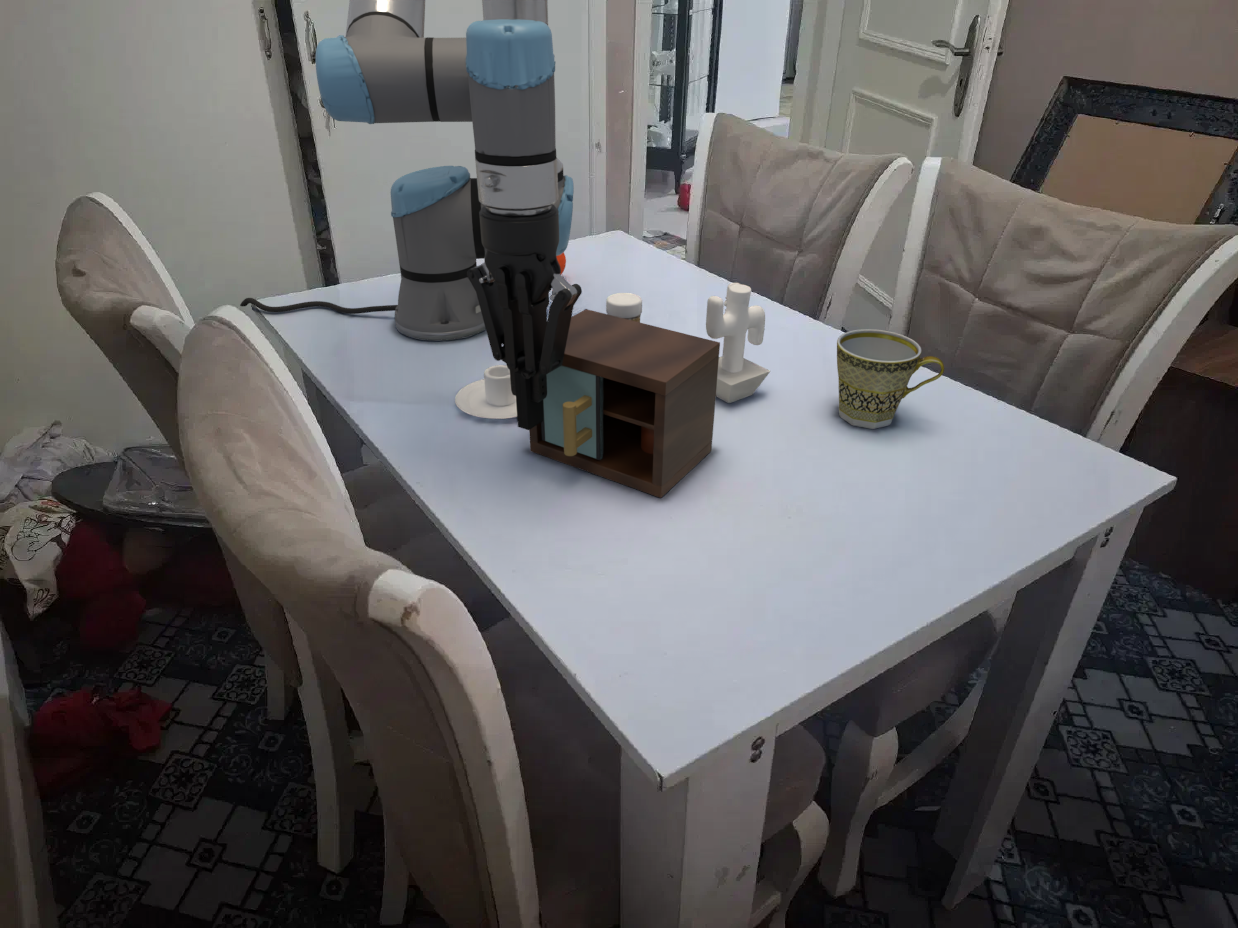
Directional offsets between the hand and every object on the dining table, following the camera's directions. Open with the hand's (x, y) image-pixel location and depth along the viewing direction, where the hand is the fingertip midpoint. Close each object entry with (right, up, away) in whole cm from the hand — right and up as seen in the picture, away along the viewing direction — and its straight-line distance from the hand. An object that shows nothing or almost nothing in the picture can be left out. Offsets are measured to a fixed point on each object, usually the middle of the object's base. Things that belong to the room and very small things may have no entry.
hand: (530, 423), depth 90 cm
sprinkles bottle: (+10, +5, +20) cm, 23 cm away
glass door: (+3, -4, +3) cm, 6 cm away
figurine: (+25, +5, +21) cm, 33 cm away
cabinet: (+10, -3, +7) cm, 13 cm away
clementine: (-3, +29, +59) cm, 66 cm away
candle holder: (-6, +4, +18) cm, 19 cm away
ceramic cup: (+43, +1, +15) cm, 45 cm away
